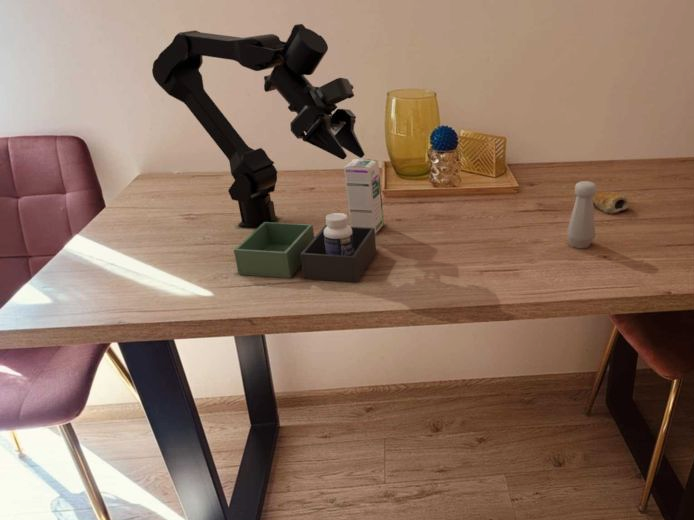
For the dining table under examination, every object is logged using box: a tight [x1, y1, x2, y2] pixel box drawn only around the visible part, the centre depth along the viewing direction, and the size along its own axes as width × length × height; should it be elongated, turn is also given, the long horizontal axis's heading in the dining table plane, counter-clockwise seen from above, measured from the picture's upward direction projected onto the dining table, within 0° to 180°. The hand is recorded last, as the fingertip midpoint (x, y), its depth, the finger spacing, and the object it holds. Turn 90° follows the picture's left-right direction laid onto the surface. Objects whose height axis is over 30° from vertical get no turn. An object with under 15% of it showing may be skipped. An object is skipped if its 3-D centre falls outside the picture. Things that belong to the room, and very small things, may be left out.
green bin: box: [233, 221, 315, 279], centre depth 125 cm, size 10×14×5 cm
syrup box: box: [343, 158, 385, 235], centre depth 136 cm, size 6×6×14 cm
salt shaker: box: [566, 180, 598, 249], centre depth 129 cm, size 6×6×13 cm
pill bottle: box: [324, 212, 355, 256], centre depth 122 cm, size 5×5×10 cm
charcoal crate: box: [300, 224, 377, 283], centre depth 123 cm, size 10×14×5 cm
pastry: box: [593, 191, 630, 215], centre depth 151 cm, size 9×7×4 cm
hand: (354, 157), depth 123 cm, fingers open, 9 cm apart
